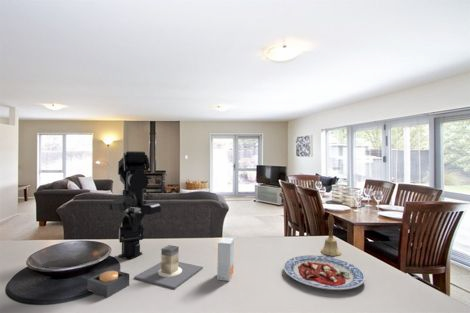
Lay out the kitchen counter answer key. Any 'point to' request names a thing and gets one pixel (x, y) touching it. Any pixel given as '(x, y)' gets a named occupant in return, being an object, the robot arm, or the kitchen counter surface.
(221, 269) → the skincare box
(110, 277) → the button
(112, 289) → the button box
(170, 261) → the spice jar
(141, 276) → the mat
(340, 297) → the kitchen counter surface
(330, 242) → the hand bell
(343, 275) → the ceramic plate
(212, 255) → the kitchen counter surface
